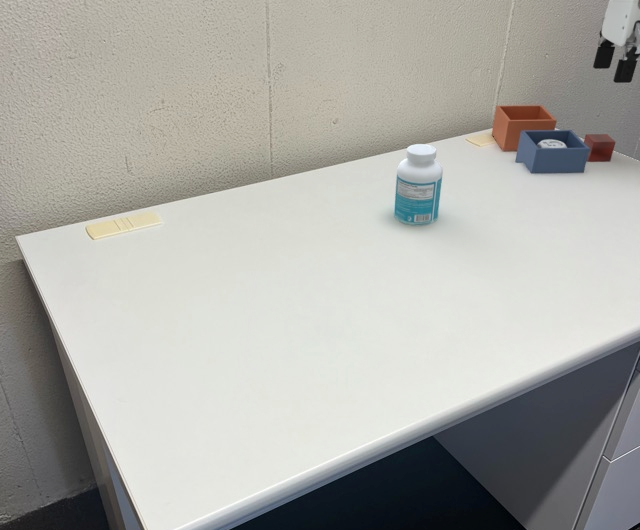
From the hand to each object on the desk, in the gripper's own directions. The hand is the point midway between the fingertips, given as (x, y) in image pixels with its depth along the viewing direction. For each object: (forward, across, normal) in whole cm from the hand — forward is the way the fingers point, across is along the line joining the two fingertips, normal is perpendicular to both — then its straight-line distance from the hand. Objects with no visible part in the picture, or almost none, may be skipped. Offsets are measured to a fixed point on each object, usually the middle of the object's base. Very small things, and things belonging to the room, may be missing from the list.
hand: (611, 75), depth 117 cm
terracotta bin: (+17, +11, +11) cm, 23 cm away
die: (+17, -5, +10) cm, 20 cm away
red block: (+17, +1, -2) cm, 17 cm away
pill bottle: (+17, -27, +40) cm, 52 cm away
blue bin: (+17, -5, +10) cm, 21 cm away
